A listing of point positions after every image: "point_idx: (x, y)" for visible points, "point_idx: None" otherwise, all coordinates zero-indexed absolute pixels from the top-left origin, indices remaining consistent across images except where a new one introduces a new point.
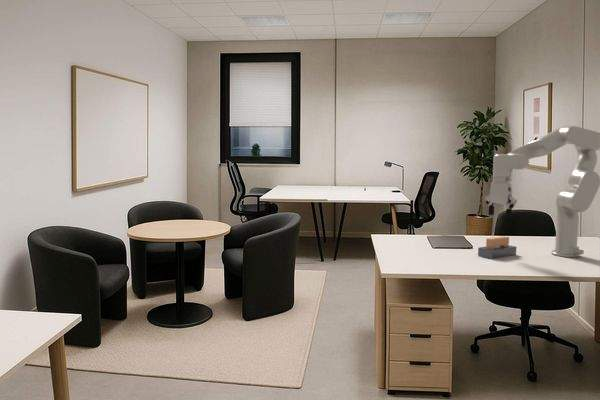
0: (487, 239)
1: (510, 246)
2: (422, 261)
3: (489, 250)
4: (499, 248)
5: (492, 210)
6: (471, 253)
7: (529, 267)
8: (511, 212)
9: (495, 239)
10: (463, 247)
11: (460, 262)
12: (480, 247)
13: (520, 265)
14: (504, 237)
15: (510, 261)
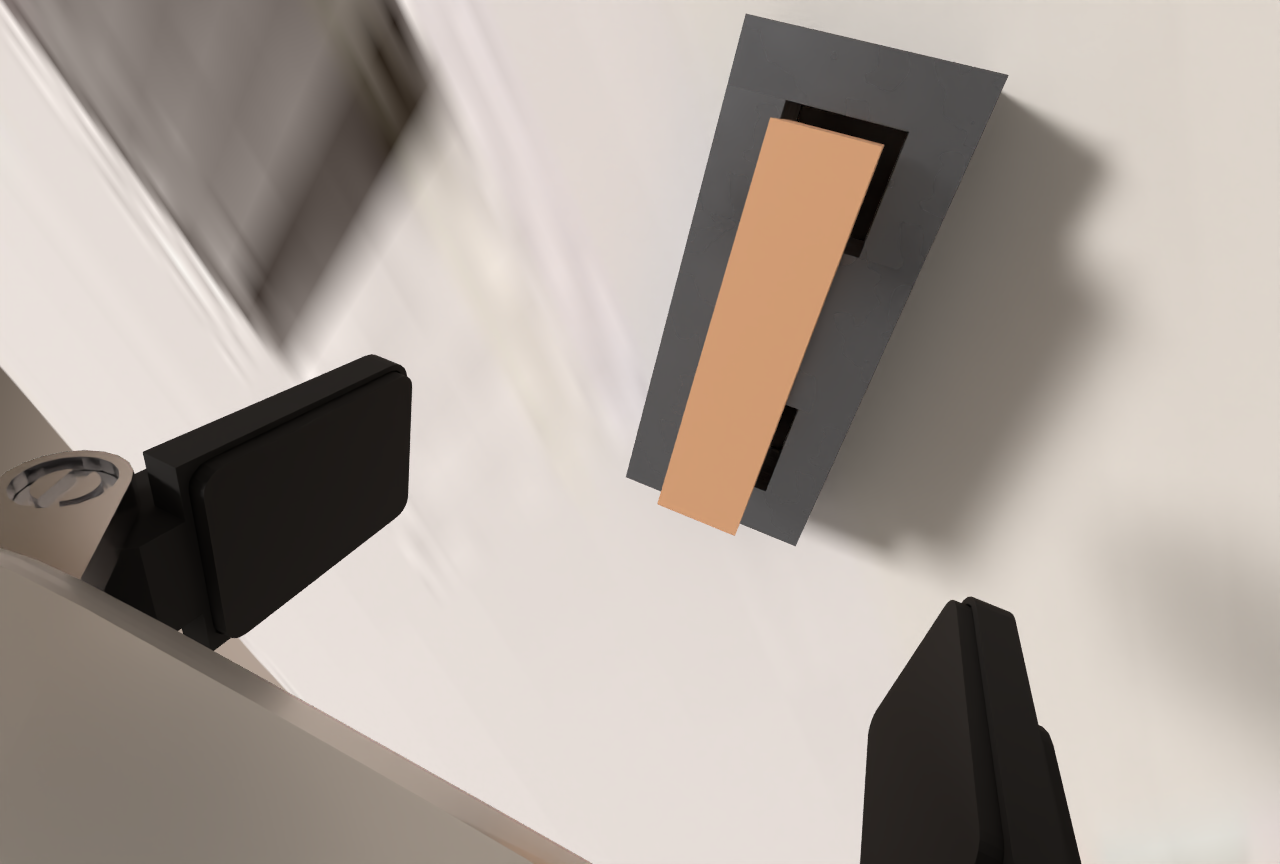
0: (674, 504)
1: (914, 137)
2: (496, 753)
3: (761, 528)
4: (824, 393)
5: (320, 487)
6: (559, 352)
7: (1257, 661)
8: (1066, 814)
9: (758, 469)
10: (360, 104)
11: (660, 703)
12: (639, 462)
13: (1142, 617)
14: (822, 249)
15: (1001, 493)
